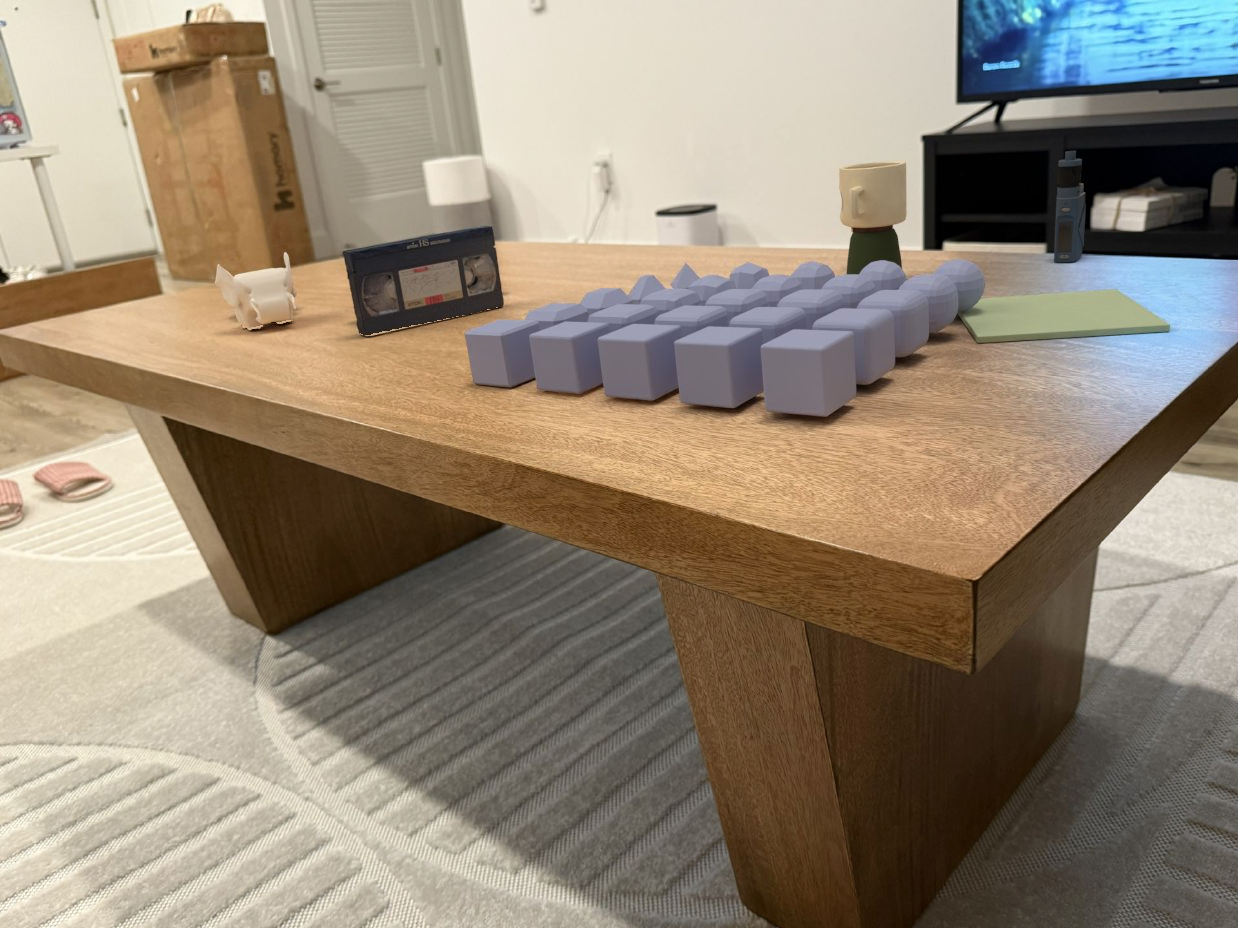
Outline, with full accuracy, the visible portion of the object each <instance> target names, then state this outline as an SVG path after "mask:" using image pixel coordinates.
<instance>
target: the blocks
mask: <svg viewBox="0 0 1238 928" xmlns="http://www.w3.org/2000/svg"><path fill="white" fill-rule="evenodd" d="M985 282H986V281H985V276H984V274H983V272H982V269H980V267H979V266H978V265H977V264H976V263H973V262H972V261H970V260H968V259H962V258H957V259H951V260H950V259H949V260H947V261H945V262H943V263H941V264H940V265H939V266H938V267H937V268H936V269H935V270H934V271H933V273H922V274H921V273H920V274H916V275H914V276H912V277H910V278H907V275H906V272H905V271H904V269H903V267H902V268H901V267H900V266H898V265H897V264H896V263H894V262H890V261H885V260H879V261H875V262H871V263H870V264H868V265H867V266H866V267H864V268H863V269H862V271H861V272H860V274H847V273H845V274H841V275H840V274H839V275H835V272H834V270H833V269H832V268H831V267H830V266H829V264H824V263H822V262H818V261H814V260H813V261H812V260H810V261H807V262H804V263H801V264H799V265H798V267H797V268H796V269H795V270H794V271H793V272H792V273H791V274H790V275H788V274H771V275H770V273H769V270H768V268H765V267H763V266H760V265H757V264H754V263H752V262H749V261H747V262H745V263H742V264H741V265H738V266H737V267H735V268H733V270H732V271H731V272H730V274H729V277H728V278H727V277H724V276H721V275H719V274H707V275H704V276H702V277H700V276H699V274H697V272H695V271H694V269H692V268H691V266H690V265H689V264H688V263H687V262H685V263H684V264H683V266H682V267H681V268H680V270H679V271H678V272H677V274H676V276H675V277H674V278H673V280H672V281H671V282H670V283H669V286H670V287H671V288H666V287H665V286H664V285H663V284H662V283H661V282H660V280H659V279H658V278H657V277H656V276H655V275H654V274H645V275H641V276H640V277H639V278H638V280H637V281H636V282H635V284H634V285H633V287H632V288H631V290H630V291H629V293H628V294H627V293H626V292H625V290H623V289H622V288H621V287H601V288H597V289H595V290H592V291H589V292H586V293H585V295H584V296H583V298H581V299H582V300H581V301H580V302H579V303H577V302H574V303H573V302H552V303H550V304H546V305H543V306H540V307H538V308H534V309H531V310H529V312H528V313H527V315H526V317H525V318H524V319H505V318H501V319H497V320H494V321H491V322H488V323H486V324H485V323H484V324H482V325H480V326H475V327H473V328H471V329H468V330H465V331H464V338H465V345H466V350H467V354H468V355H467V356H468V360H469V366H470V372H471V378H472V383H473V384H474V385H477V386H478V385H480V386H489V387H500V388H509V389H510V388H513V387H516V386H518V385H521V384H523V383H526V382H528V381H530V380H533V379H535V384H536V389H537V390H538V391H544V392H556V393H565V394H576V395H581V394H583V393H586V392H587V391H590V390H592V389H594V388H596V387H598V386H599V387H600V386H601V385H603V393H604V396H605V397H608V398H618V399H628V400H630V399H631V400H639V401H640V400H641V401H650V402H652V401H655V400H657V399H659V398H662V397H663V396H665V395H667V394H669V393H671V392H674V391H675V390H677V389H678V394H679V402H680V403H681V404H683V405H693V406H703V407H704V406H705V407H715V408H727V409H735V408H737V407H739V406H741V405H742V404H744V403H746V402H748V401H749V400H751V399H753V398H755V397H757V396H759V395H760V394H761V393H763V398H764V410H765V411H766V412H768V413H769V412H770V413H778V414H779V413H781V414H790V415H801V416H811V417H812V416H813V417H823V418H824V417H825V418H826V417H828V416H829V415H831V414H833V413H835V412H836V411H837V410H839V409H841V408H842V407H844V406H845V405H846V404H848V403H850V402H851V401H852V400H854V399H855V398H856V397H857V385H864V386H866V385H871V384H873V383H874V382H876V381H878V380H879V379H880V378H881V377H883V376H885V375H886V374H889V372H891V371H892V370H893V369H894V367H895V366H896V358H904V357H908V356H910V355H912V354H913V353H915V352H917V351H918V350H920V349H921V348H923V347H924V346H925V345H926V344H927V342H928V340H929V339H930V338H929V337H930V334H931V333H938V332H939V331H942V330H944V329H946V328H948V326H949V325H951V324H952V323H953V321H954V320H955V318H956V316H957V315H958V313H957V312H962V311H966V310H968V309H970V308H972V307H974V306H975V305H976V304H977V303H978V302H979V300H980V298H982V297H983V295H984V293H985V288H986V287H985V286H986V283H985Z"/></svg>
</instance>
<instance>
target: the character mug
mask: <svg viewBox="0 0 1238 928" xmlns="http://www.w3.org/2000/svg"><path fill="white" fill-rule="evenodd" d="M838 170H839V171H838V172H839V174H838V175H839V176H838V177H839V178H838V179H839V183H838V190H839V193H840V197H841V208H840V209H841V210H840V215H839V219H840V222H841V223H842V225H844V226H846V227H849V228H850V230H851V233H852V234H851V236H850V238H849V245H848V254H847V260H846V261H847V262H846V274H860V272H861V271H862V269H863V268H864V267H866V266H867V265H868V264H870V263H871V262H875V261H879V260H885V261H890V262H894V263H896V264H897V265H898V266H900V267H901V268H902V269H903V262H902V255H901V249H900V248H901V247H900V244H899V243H900V241H899V236H898V233H897V231H896V230H895V228H894V226H895V225H899V224H901V223H904V222H905V221H906V220H907V162H905V161H902V160H901V161H899V160H896V161H895V160H887V161H875V162H866V163H857V164H850V165H845V166H841V167H839V169H838Z"/></svg>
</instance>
